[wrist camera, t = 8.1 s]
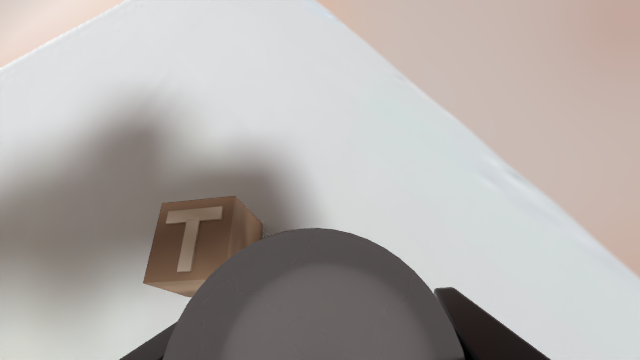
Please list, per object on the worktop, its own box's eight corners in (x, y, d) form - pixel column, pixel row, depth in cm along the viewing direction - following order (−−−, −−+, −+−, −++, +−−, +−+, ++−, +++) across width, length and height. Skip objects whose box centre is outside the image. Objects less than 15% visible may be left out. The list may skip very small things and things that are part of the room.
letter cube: (257, 294, 22) (223, 277, 18) (189, 297, 23) (141, 282, 19) (263, 222, 25) (234, 192, 20) (201, 227, 26) (161, 200, 21)
